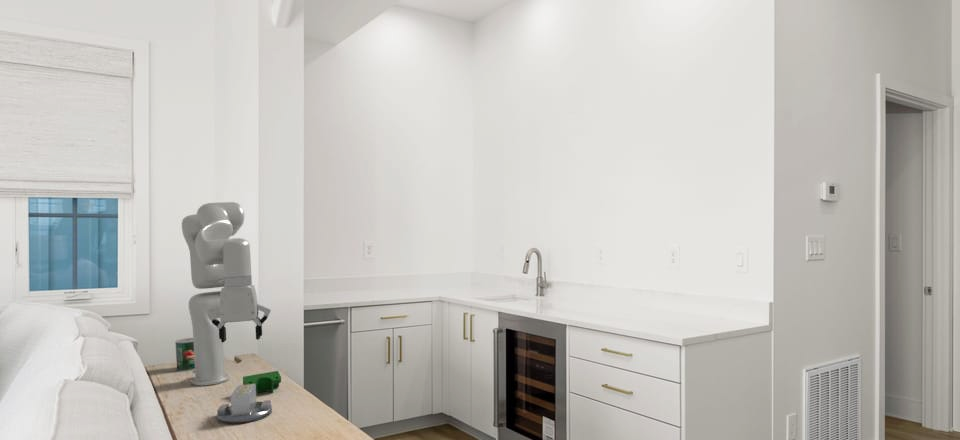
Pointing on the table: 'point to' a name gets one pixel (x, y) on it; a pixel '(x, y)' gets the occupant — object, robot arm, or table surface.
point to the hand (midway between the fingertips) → (241, 340)
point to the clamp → (264, 381)
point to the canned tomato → (185, 354)
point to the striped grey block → (243, 399)
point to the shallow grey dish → (257, 413)
